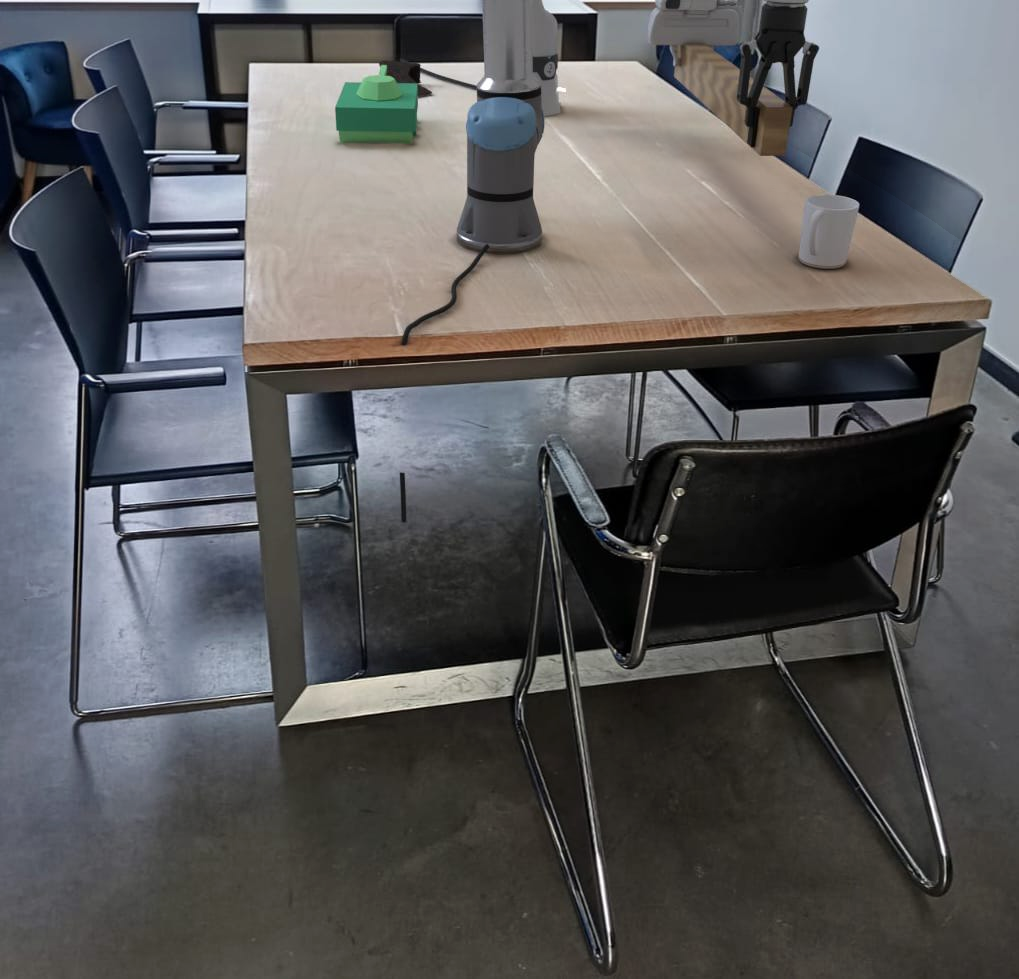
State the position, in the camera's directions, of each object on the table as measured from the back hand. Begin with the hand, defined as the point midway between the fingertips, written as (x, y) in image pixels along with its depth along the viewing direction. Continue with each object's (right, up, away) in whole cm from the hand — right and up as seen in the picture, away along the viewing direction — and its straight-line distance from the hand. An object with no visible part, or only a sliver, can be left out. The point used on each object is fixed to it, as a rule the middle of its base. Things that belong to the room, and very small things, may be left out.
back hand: (689, 66), depth 245 cm
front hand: (+5, -33, -50) cm, 60 cm away
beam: (+3, -18, -24) cm, 30 cm away
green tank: (-72, -8, +19) cm, 74 cm away
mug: (+13, -56, -56) cm, 80 cm away
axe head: (-70, +14, +55) cm, 90 cm away
